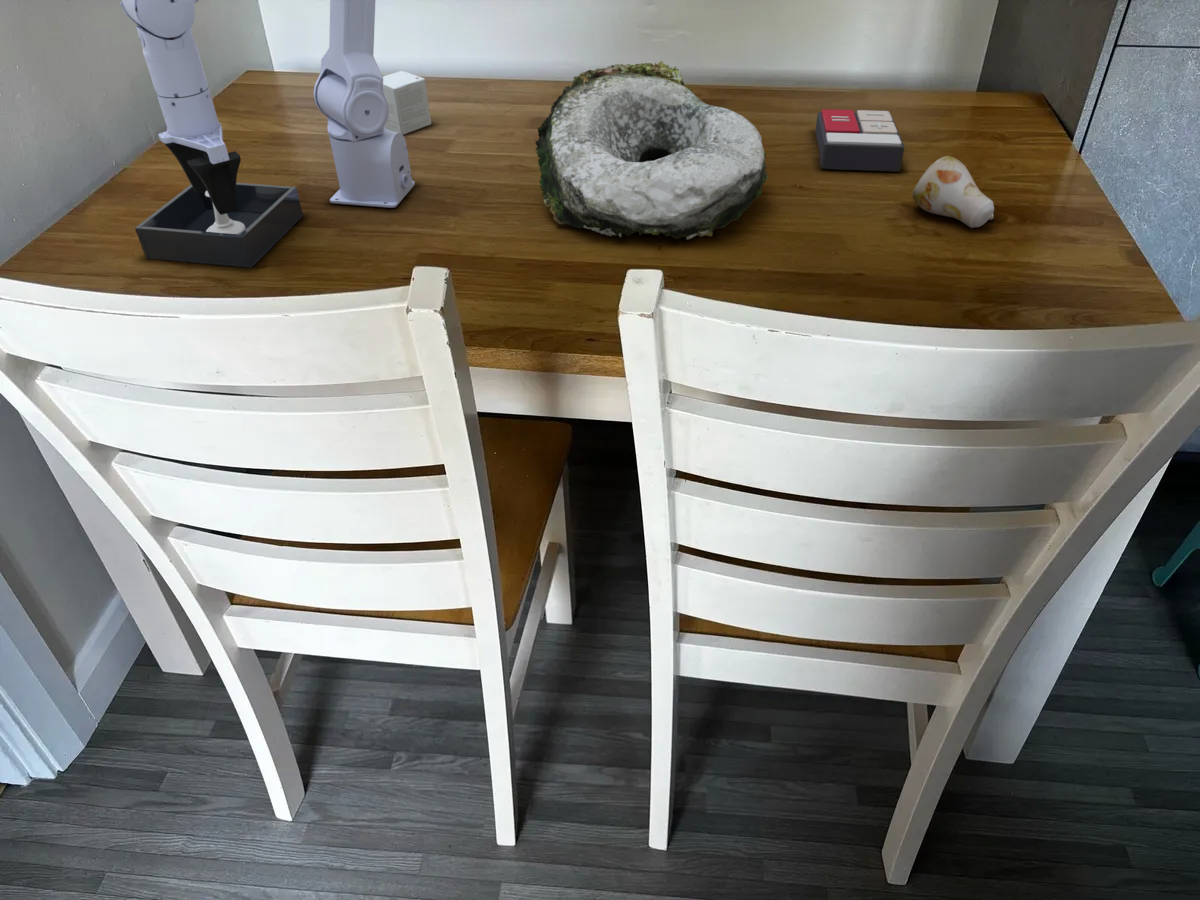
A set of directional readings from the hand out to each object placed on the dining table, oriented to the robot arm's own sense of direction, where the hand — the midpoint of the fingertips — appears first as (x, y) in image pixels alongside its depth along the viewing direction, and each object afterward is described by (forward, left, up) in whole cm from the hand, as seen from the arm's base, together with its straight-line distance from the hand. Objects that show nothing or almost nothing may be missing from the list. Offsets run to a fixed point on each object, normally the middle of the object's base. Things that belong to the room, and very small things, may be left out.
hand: (216, 201), depth 113 cm
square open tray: (0, 0, -5) cm, 5 cm away
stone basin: (-52, -19, -5) cm, 56 cm away
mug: (-91, -21, -5) cm, 94 cm away
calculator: (-79, -41, -5) cm, 89 cm away
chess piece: (0, 0, -5) cm, 5 cm away
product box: (-9, -40, -5) cm, 41 cm away
